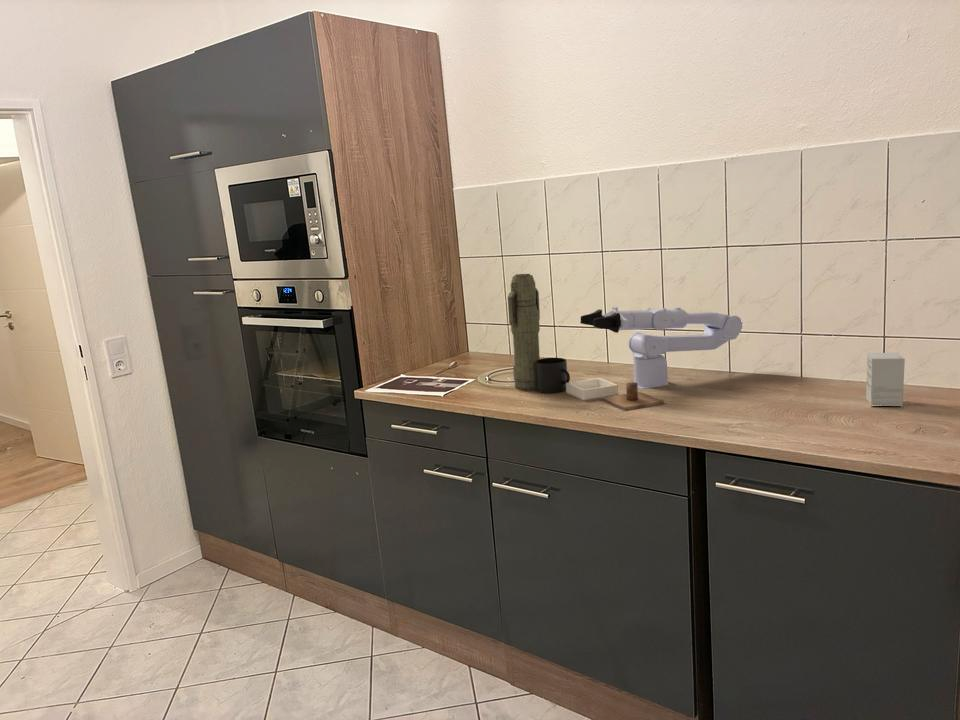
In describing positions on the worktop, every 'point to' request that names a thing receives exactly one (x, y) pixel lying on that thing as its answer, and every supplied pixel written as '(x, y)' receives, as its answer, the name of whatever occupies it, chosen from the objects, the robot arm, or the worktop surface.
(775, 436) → the worktop surface
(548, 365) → the mug
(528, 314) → the thermos
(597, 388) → the dish
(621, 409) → the mat
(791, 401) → the worktop surface
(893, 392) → the supplement box
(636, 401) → the lid
